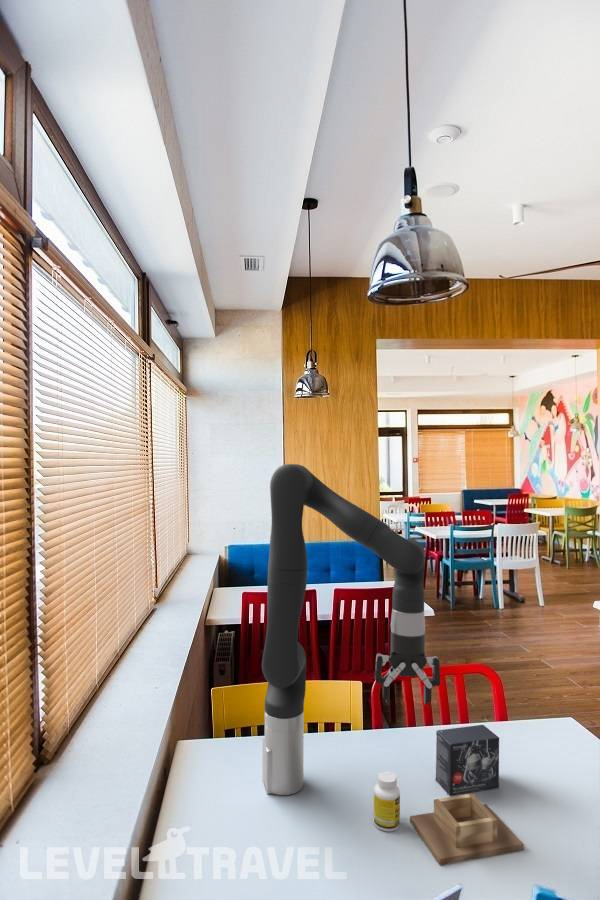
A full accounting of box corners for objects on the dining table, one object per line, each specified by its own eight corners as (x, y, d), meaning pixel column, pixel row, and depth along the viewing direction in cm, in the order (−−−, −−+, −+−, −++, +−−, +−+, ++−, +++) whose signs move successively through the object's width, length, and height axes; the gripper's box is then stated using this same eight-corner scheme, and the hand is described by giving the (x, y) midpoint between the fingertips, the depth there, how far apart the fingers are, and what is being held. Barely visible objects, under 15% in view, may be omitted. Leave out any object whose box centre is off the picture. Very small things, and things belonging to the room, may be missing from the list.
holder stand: (439, 865, 104) (439, 837, 104) (409, 821, 116) (409, 796, 116) (523, 850, 108) (523, 822, 108) (486, 809, 120) (486, 785, 121)
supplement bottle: (399, 834, 112) (399, 785, 113) (372, 830, 113) (372, 782, 114) (400, 817, 118) (400, 771, 118) (374, 814, 119) (374, 768, 119)
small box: (450, 797, 125) (449, 744, 125) (434, 781, 131) (434, 730, 132) (500, 788, 128) (500, 736, 129) (483, 772, 135) (482, 723, 135)
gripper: (377, 633, 120) (376, 708, 120) (443, 636, 119) (442, 711, 119) (374, 623, 128) (373, 694, 127) (436, 625, 127) (436, 697, 127)
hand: (406, 702), depth 123 cm, fingers open, 8 cm apart
